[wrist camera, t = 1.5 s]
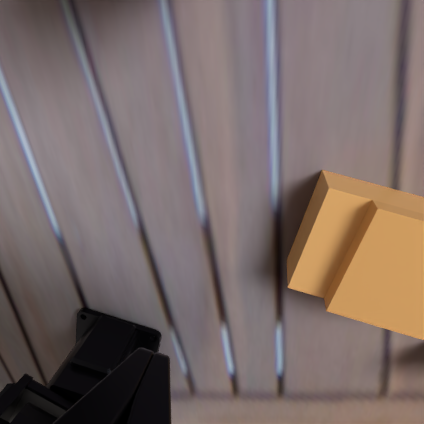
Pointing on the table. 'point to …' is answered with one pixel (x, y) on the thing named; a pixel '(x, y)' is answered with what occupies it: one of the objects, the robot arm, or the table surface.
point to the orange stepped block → (362, 253)
